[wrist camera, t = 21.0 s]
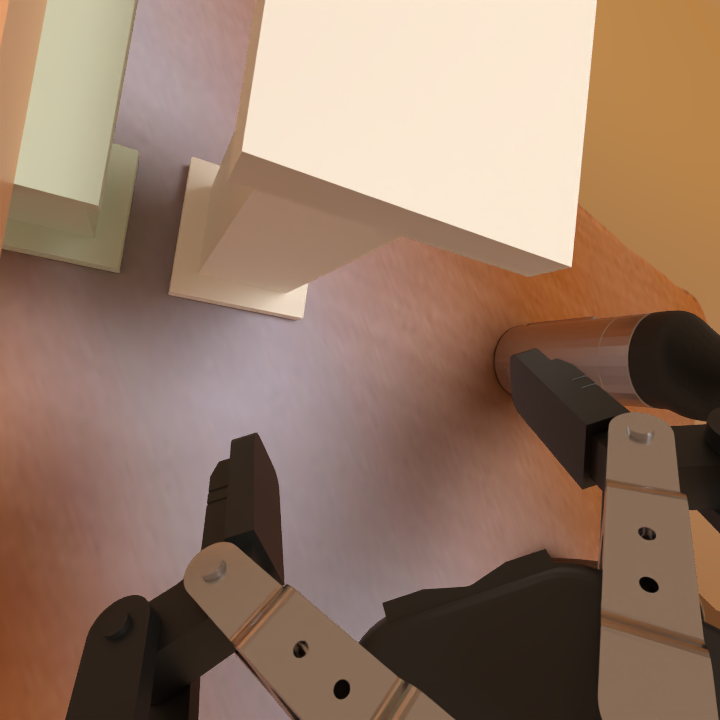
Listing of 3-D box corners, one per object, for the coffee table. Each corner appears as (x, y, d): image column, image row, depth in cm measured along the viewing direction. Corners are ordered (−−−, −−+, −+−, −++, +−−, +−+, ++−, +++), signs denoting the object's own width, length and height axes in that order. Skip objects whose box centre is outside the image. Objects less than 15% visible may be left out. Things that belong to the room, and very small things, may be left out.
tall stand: (294, 329, 45) (571, 267, 16) (166, 305, 40) (241, 151, 11) (314, 195, 46) (604, -84, 17) (191, 155, 41) (318, -342, 12)
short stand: (117, 284, 38) (98, 205, 19) (-33, 255, 34) (-246, 115, 15) (140, 150, 39) (144, -51, 20) (-2, 104, 35) (-167, -208, 16)
